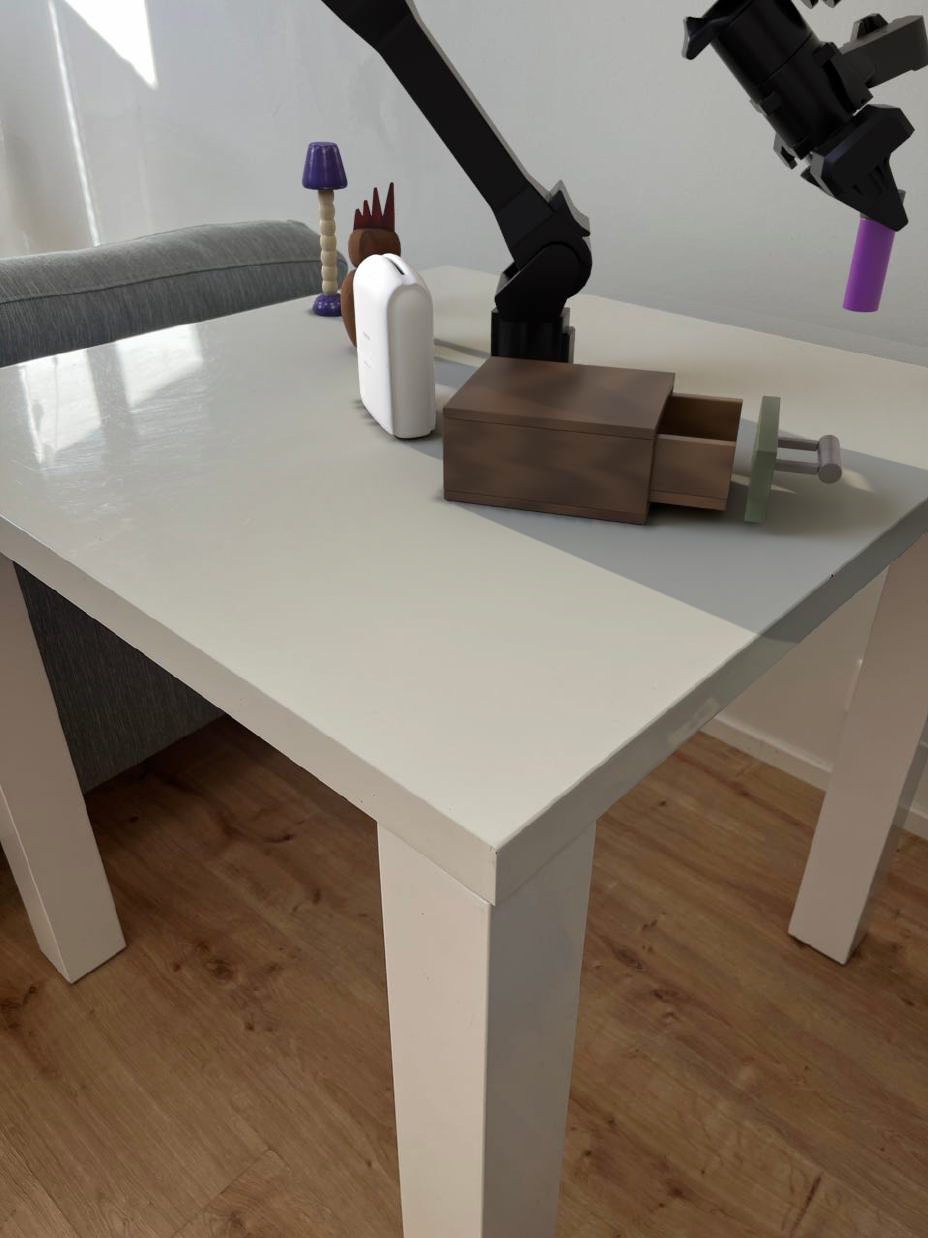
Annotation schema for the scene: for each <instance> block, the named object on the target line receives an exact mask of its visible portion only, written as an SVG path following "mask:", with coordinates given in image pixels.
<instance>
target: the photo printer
mask: <svg viewBox="0 0 928 1238" xmlns="http://www.w3.org/2000/svg"><path fill="white" fill-rule="evenodd" d="M356 269H357V268H356ZM353 288H354V305H355V322H356V337H357V348H356V349H357V350H356V353H357V364H358V365H357V366H358V367H357V368H358V379H359V392H360V398H361V401H362V405H363V406H364V407H365V408H366V411H368V412H369V414H370V415H371V416H372V417H373V419H374V420H375V421H376V422H377V423H378V424H379V425H380V426H381V427H382V428H383V429H384V430H385V431H386V432H387V433H388V434H390V435H391V436H396V437H397V438H400V439H413V438H420V437H424V436H427V435H430V433H431V431H434V430H435V429H436V425H437V424H436V422H437V412H436V411H437V409H436V406H437V405H436V372H435V371H436V369H435V331H434V330H435V327H434V325H435V323H434V320H435V319H434V301H433V297H432V294H431V290H430V288H429V287H428V284H427V283H426V281H425V279H424V278H423V276H422V275H421V274H420V272H419V271H418V270H417V269H416V267H414V266H413V265H412V264H411V263H410V262H409V261H408V260H406V259H404V258H403V257H402V256H401V257H399V256H397V255H394V254H384V255H372V256H370V257H368V258H367V259H365V260H364V261H363V262H362V263H361V264H360V265H359V267H358V269H357V271H356V273H355V276H354V282H353Z"/></svg>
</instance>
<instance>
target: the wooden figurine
mask: <svg viewBox="0 0 928 1238" xmlns="http://www.w3.org/2000/svg"><path fill="white" fill-rule="evenodd" d="M362 204H363V205H362V212H361V210H360V208H356V209H355V210H354V216H353V224H352V225H353V226H352V232H351V233H350V234H349V238H348V241H347V254H348V258H349V261H350V263H351V265H352V266H353V267H354V269H351V270H350V271H349V273H348V274H347V275H346V276H345V278H344V279H343V281H342V284H341V287H340V294H341V312H342V315H341V317H342V321H343V325H344V328H345V331H346V333H347V336H348V338H349V340H350V341H351V343H352V344H351V345H353V347H354V348H356V349H357V337H356V322H355V305H354V288H353V282H354V276H355V273H356V271H357V269H358V267H359V265H360V264H361V263H362V262H363V261H364V260H365V259H367V258H368V257H370V256H372V255H384V254H394V255H397V256H399V257H401V258H402V244H401V243H402V242H401V240H400V237H399V235H398V234H397V232H396V212H395V211H396V209H395V183H394V182H393V181H391V182H389V185H388V190H387V195H386V199H385V204H384V208H383V211H382V206H381V205H382V204H381V199H380V195H379V190H378V187H376V186H375V187H373V190H372V203H371V209H370V205H369V202H368V199H364V200H363V202H362Z"/></svg>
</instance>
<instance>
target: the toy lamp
mask: <svg viewBox="0 0 928 1238" xmlns="http://www.w3.org/2000/svg"><path fill="white" fill-rule="evenodd" d="M341 155H342V154H341V152H340V148H339V146H338V144H337V143H336V142H333V141H332V142H331V141H313V142H309V143H308V145H307V149H306V153H305V159H304V163H303V164H304V165H303V171H302V177H301V185H302V187H303V188H304V189H307V190H312V191H317V200H318V203H319V205H318V216H319V218H320V221H319V231H320V234H321V235H320V239H319V243H320V244H319V245H320V247H321V252H320V261H321V264H322V266H321V277H322V282H321V288H322V293H321V294H319V295H318V296H317V297H315V299H314V300H313V303H312V308H311V309H312V312H313V314H316V315H320V316H327V317H332V316H342V312H341V292H338V290H339V284H338V281H337V278H338V267H337V262H338V253H337V250H336V248H337V245H338V243H337V242H338V241H337V237H336V234H335V233H336V230H337V225H336V221H335V216H336V207H335V205H334V202H335V191H338V190H343V189H344V190H345V189H346V188H347V187H348V185H349V184H348V183H349V182H348V177H347V174H346V170H345V166H344V162H343V159H342V156H341Z"/></svg>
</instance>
